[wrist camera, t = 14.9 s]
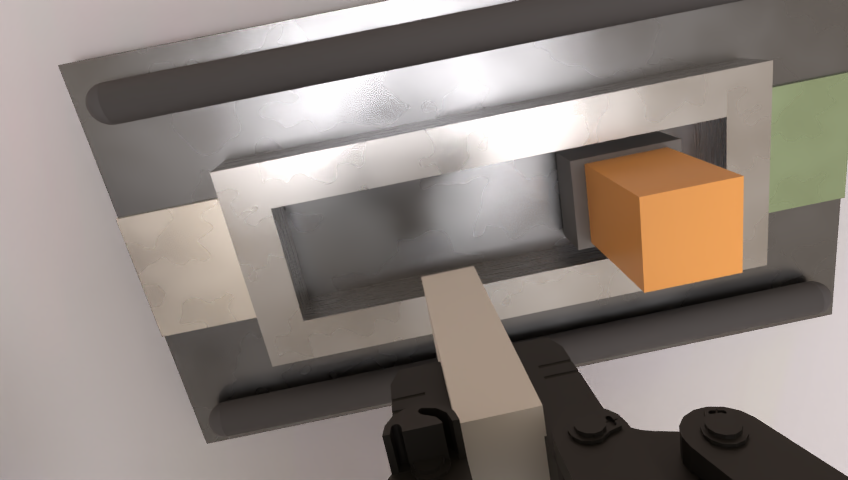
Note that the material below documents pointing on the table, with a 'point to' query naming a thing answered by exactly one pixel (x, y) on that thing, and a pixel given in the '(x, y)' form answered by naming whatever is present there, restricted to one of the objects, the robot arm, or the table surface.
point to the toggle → (653, 210)
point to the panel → (455, 183)
